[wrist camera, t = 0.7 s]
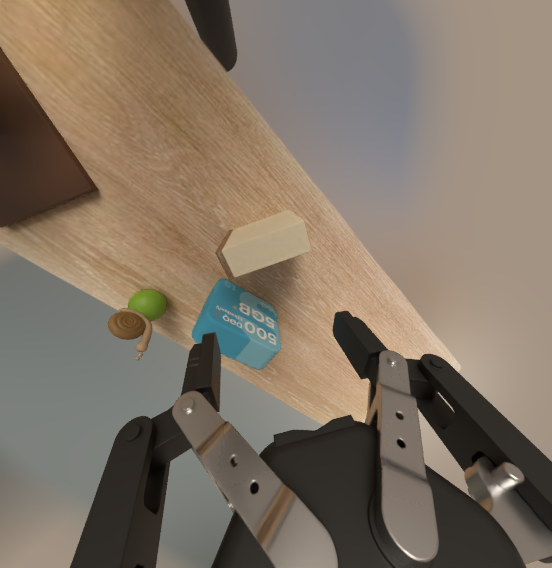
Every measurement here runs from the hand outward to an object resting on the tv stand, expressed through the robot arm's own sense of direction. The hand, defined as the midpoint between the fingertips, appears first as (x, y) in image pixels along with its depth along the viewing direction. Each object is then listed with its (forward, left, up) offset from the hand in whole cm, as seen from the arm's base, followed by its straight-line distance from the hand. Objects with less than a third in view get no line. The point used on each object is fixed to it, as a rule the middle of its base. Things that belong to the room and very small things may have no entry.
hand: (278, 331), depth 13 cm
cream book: (-2, 0, -22) cm, 22 cm away
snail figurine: (+3, -22, -22) cm, 31 cm away
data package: (+9, -8, -22) cm, 25 cm away
